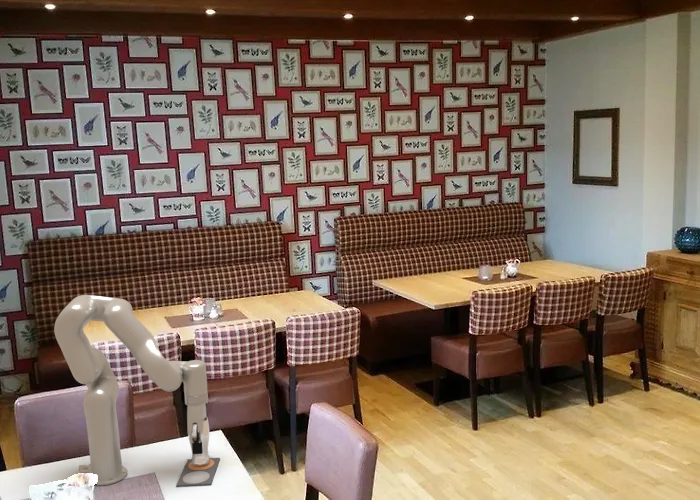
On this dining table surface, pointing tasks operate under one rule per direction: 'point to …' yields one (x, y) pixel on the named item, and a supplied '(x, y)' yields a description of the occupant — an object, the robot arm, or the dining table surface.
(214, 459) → the mat
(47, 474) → the dining table surface
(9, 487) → the dining table surface
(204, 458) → the beer glass
